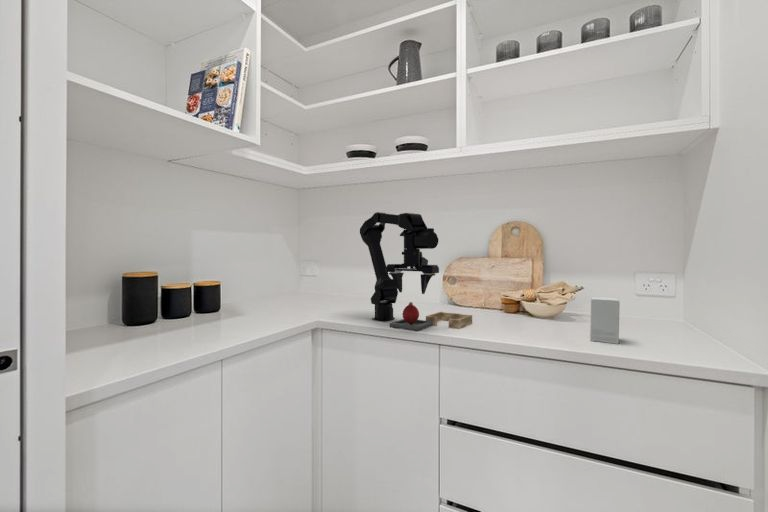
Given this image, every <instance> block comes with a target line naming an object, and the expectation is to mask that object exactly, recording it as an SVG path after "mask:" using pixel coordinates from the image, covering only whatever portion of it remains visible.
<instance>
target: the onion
mask: <svg viewBox="0 0 768 512" xmlns="http://www.w3.org/2000/svg"><path fill="white" fill-rule="evenodd" d="M419 317H420V311H419V309H418V308H417V307H416V306H415V305H414V304H413V302H409V303H408V305H407V306H405V307H404V309H403V311H402V318H403V319H404V320H405V321H406V322H407V323H409V324H410V325H412V324H413V323H414V322H416V321H417V320H419Z"/></svg>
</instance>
